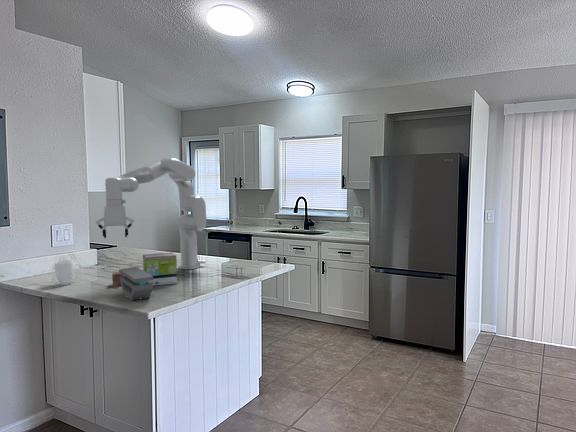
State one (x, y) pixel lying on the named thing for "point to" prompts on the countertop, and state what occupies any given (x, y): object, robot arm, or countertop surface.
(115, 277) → the walnut block
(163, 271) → the tea box
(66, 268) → the mug
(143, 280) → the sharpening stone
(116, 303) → the countertop surface
